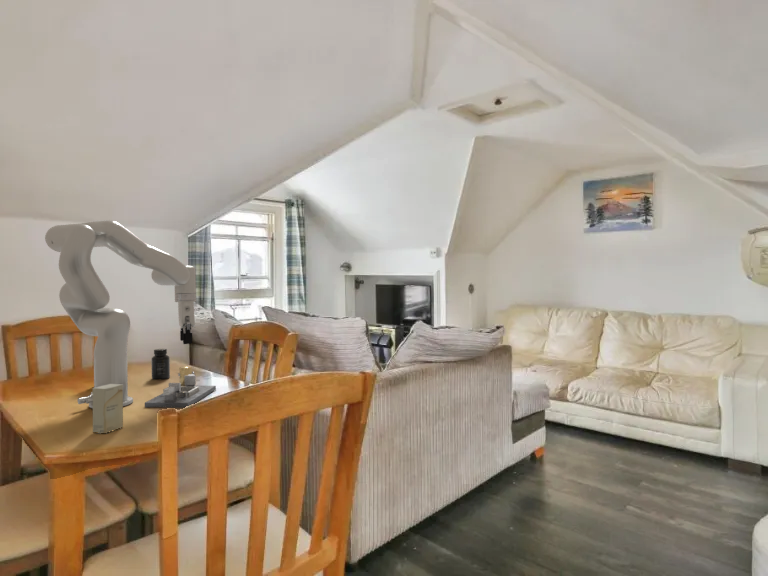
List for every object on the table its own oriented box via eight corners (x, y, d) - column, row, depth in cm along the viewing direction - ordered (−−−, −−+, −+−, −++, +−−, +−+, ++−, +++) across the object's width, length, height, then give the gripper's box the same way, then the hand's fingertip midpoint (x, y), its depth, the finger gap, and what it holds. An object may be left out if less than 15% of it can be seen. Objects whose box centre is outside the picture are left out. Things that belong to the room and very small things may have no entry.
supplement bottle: (173, 376, 198) (172, 348, 198) (164, 380, 191) (163, 350, 191) (157, 376, 199) (157, 348, 199) (148, 379, 192) (147, 350, 192)
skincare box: (105, 434, 126) (104, 389, 125) (91, 433, 127) (91, 388, 127) (124, 427, 132) (123, 384, 131) (111, 425, 133) (110, 383, 133)
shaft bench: (187, 407, 152) (187, 387, 151) (144, 407, 152) (144, 387, 152) (215, 389, 176) (215, 372, 175) (178, 389, 176) (178, 372, 176)
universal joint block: (179, 387, 179) (179, 369, 179) (177, 385, 183) (177, 367, 183) (195, 385, 182) (195, 367, 182) (193, 383, 186) (193, 365, 186)
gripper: (198, 298, 176) (199, 344, 177) (193, 296, 191) (193, 338, 192) (177, 299, 172) (177, 345, 173) (172, 297, 188) (173, 339, 188)
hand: (186, 342), depth 182 cm, fingers open, 9 cm apart
